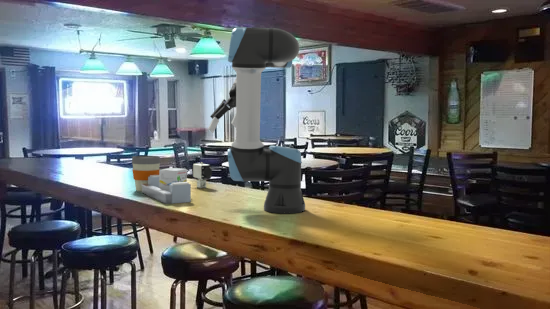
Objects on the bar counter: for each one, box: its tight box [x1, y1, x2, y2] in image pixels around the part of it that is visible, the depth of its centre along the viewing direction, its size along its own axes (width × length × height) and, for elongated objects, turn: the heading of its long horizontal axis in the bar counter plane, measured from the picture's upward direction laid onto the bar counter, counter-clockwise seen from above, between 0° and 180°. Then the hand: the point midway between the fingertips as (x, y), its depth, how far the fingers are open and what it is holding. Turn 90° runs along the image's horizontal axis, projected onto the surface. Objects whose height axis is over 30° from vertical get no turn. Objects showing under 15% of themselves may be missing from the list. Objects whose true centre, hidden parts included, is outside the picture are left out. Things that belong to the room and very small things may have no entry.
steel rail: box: [141, 184, 173, 205], centre depth 207 cm, size 30×3×4 cm, turn 31°
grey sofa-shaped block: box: [148, 175, 192, 204], centre depth 210 cm, size 30×8×8 cm, turn 31°
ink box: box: [159, 167, 188, 192], centre depth 211 cm, size 8×8×12 cm
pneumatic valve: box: [191, 161, 213, 189], centre depth 239 cm, size 6×12×12 cm, turn 37°
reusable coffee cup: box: [131, 155, 161, 192], centre depth 228 cm, size 12×13×15 cm
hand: (221, 128), depth 205 cm, fingers open, 13 cm apart
